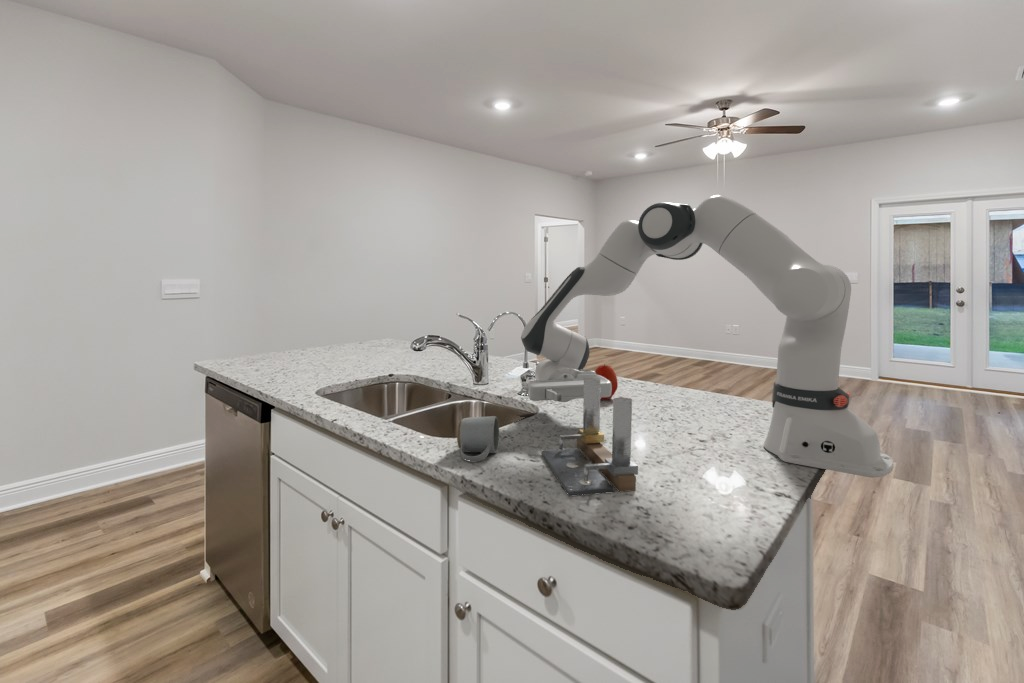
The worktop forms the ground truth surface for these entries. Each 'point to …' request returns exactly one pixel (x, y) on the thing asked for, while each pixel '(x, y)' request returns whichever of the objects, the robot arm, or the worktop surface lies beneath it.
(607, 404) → the worktop surface
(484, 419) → the ceramic mug
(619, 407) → the fixed leg
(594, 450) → the rail
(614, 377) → the red egg shape
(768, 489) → the worktop surface
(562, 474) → the hole plate
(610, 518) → the worktop surface
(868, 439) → the robot arm
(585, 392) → the sliding leg
